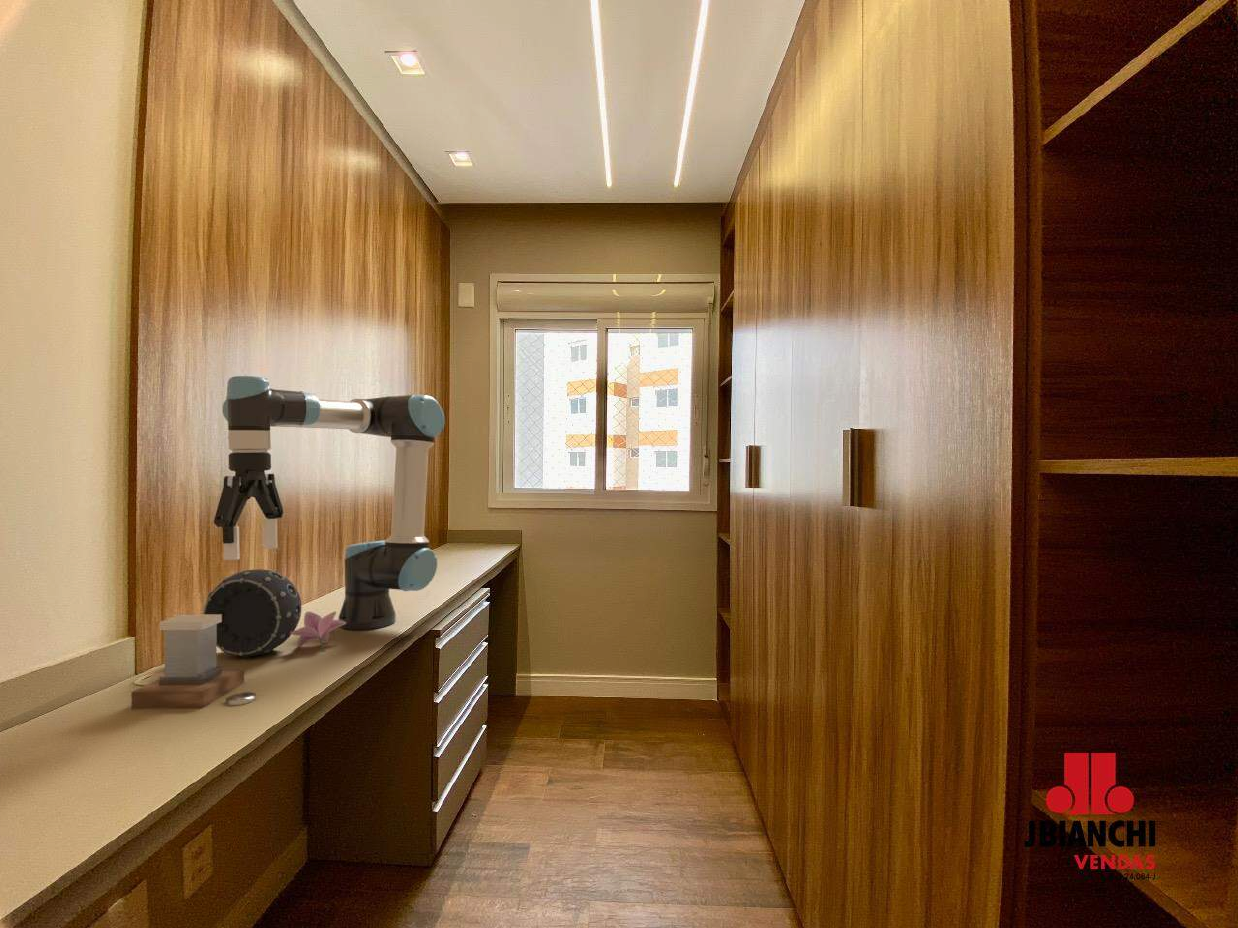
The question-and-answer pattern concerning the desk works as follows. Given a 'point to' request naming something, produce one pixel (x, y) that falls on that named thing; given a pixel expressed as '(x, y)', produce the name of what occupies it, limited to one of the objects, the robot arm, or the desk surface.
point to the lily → (317, 628)
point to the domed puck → (241, 698)
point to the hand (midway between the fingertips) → (252, 553)
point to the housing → (190, 649)
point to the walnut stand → (187, 692)
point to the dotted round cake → (254, 611)
